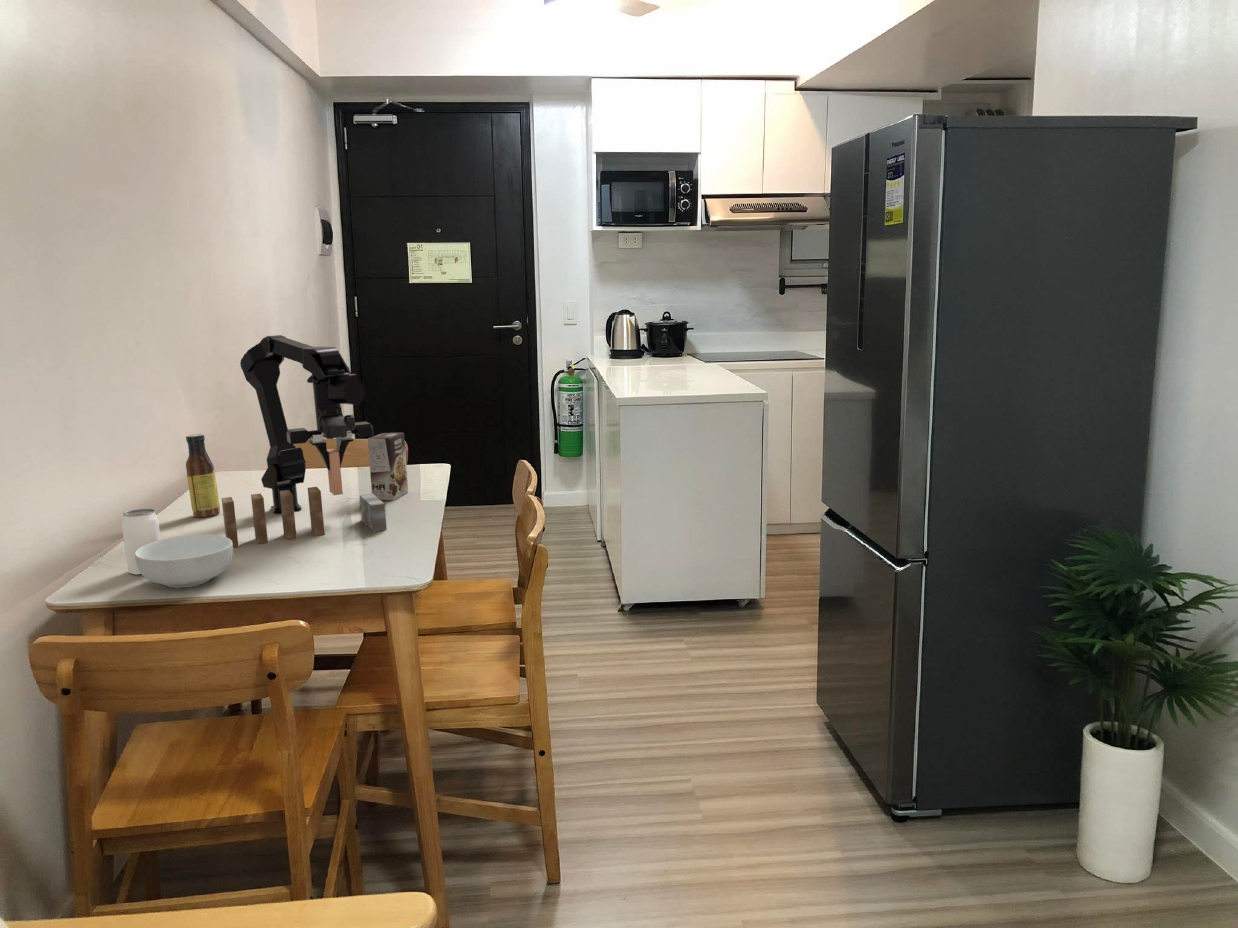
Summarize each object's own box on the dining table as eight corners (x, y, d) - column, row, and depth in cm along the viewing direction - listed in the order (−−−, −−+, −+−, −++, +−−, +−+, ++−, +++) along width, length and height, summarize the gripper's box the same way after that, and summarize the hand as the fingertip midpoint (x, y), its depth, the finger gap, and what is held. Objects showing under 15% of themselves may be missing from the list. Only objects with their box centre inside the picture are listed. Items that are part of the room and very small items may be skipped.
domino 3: (287, 539, 210) (282, 495, 208) (283, 534, 215) (279, 491, 213) (296, 538, 211) (292, 494, 209) (293, 533, 216) (288, 489, 214)
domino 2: (258, 543, 208) (253, 498, 206) (255, 538, 212) (250, 494, 210) (268, 542, 209) (263, 497, 207) (265, 537, 213) (260, 493, 211)
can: (136, 566, 193) (128, 508, 191) (169, 565, 194) (162, 507, 192) (122, 576, 187) (114, 517, 185) (157, 574, 188) (149, 515, 185)
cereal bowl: (136, 601, 172) (131, 564, 171) (141, 576, 187) (136, 541, 186) (237, 587, 179) (233, 550, 178) (234, 563, 194) (230, 529, 192)
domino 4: (315, 535, 213) (311, 491, 211) (311, 530, 217) (307, 487, 215) (324, 534, 214) (320, 490, 212) (320, 529, 218) (316, 486, 216)
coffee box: (394, 500, 244) (390, 438, 241) (371, 500, 246) (366, 437, 242) (409, 492, 253) (405, 431, 250) (386, 491, 254) (382, 431, 251)
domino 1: (228, 548, 205) (223, 502, 203) (226, 542, 209) (221, 498, 207) (238, 546, 206) (233, 501, 204) (236, 541, 210) (231, 496, 208)
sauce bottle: (226, 512, 236) (217, 433, 232) (207, 519, 230) (198, 437, 226) (204, 511, 238) (195, 432, 234) (186, 517, 233) (176, 436, 229)
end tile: (334, 495, 222) (330, 452, 220) (329, 491, 226) (325, 449, 224) (342, 494, 223) (338, 451, 221) (338, 490, 227) (334, 448, 225)
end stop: (361, 519, 226) (359, 495, 224) (374, 518, 227) (372, 493, 226) (373, 531, 215) (371, 505, 214) (386, 529, 216) (384, 503, 215)
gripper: (291, 410, 209) (298, 480, 212) (376, 402, 218) (382, 469, 221) (283, 405, 219) (290, 472, 222) (365, 397, 227) (371, 462, 230)
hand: (333, 469), depth 223 cm, fingers closed on end tile, 2 cm apart
